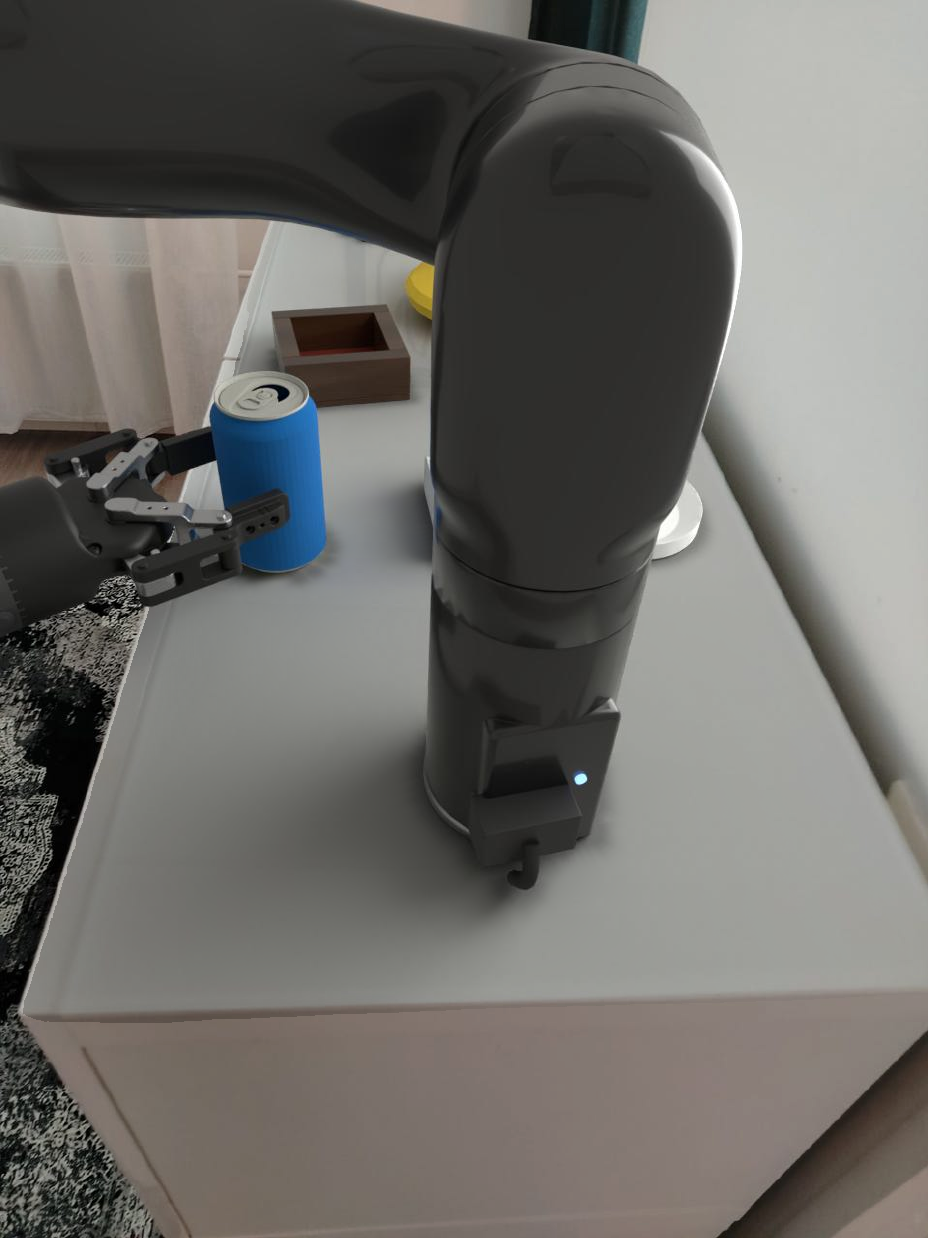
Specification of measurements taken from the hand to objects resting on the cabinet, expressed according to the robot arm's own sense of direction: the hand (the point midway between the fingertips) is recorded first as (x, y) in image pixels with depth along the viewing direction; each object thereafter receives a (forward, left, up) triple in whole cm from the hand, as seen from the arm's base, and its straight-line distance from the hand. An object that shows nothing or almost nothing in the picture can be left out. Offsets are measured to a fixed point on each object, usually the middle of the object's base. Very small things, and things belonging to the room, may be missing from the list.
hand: (251, 471), depth 57 cm
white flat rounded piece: (+1, -22, -7) cm, 23 cm away
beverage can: (+1, -1, -7) cm, 7 cm away
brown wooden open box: (+25, -9, -7) cm, 27 cm away
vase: (+35, -25, -7) cm, 43 cm away
